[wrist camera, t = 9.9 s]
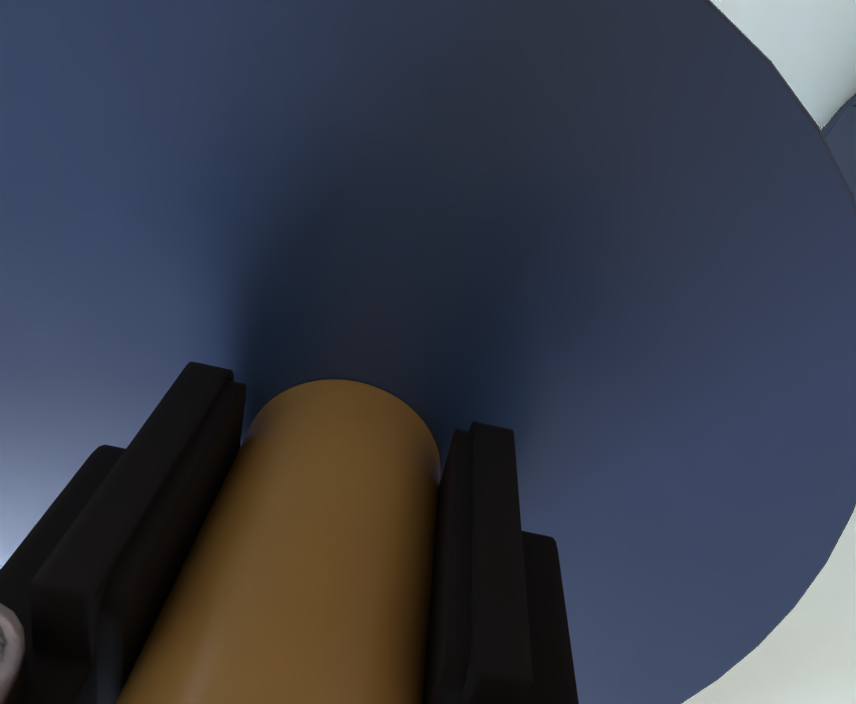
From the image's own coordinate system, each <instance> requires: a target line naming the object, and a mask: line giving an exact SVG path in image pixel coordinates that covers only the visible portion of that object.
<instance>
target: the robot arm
mask: <svg viewBox="0 0 856 704" xmlns="http://www.w3.org/2000/svg"><path fill="white" fill-rule="evenodd" d="M245 400H246V384H244V383H240V382H235V381H234V372H233V371H232V370H230V369H226V368H221V367H216V366H212V365H207V364H202V363H198V362H193V361H192V362H189V363H188V364H187V365H186V366H185V368H184V369H183V370H182V372H181V373H180V375H179V376H178V377H177V379H176V380H175V382H174V383H173V384H172V386H171V387H170V389H169V390H168V391H167V393H166V394H165V395H164V397H163V398H162V400H161V401H160V402H159V404H158V405H157V407H156V408H155V409H154V411H153V412H152V414H151V415H150V416H149V418H148V419H147V420H146V422H145V423H144V425H143V426H142V427H141V429H140V430H139V432H138V433H137V434H136V436H135V437H134V439H133V440H132V441H131V443H130V444H129V445H128V447H127V448H126V449H125V448H120V447H115V446H110V445H105V444H104V445H102V446H99V447H98V448H97V449H96V450H95V451H94V452H93V453H92V454H91V455H90V456H89V457H88V459H87V460H86V461H85V462H84V464H83V465H82V466H81V467H80V469H79V470H78V471H77V473H76V474H75V475H74V476H73V478H72V479H71V480H70V482H69V483H68V484H67V485H66V487H65V488H64V489H63V490H62V492H61V493H60V494H59V496H58V497H57V498H56V499H55V501H54V502H53V503H52V504H51V506H50V507H49V508H48V510H47V511H46V512H45V513H44V515H43V516H42V517H41V519H40V520H39V521H38V522H37V524H36V525H35V526H34V527H33V529H32V530H31V531H30V533H29V534H28V535H27V536H26V538H25V539H24V540H23V541H22V543H21V544H20V545H19V547H18V548H17V549H16V550H15V552H14V553H13V554H12V556H11V557H10V558H9V559H8V561H7V562H6V563H5V564H4V566H3V567H2V568H1V570H0V704H115V703H116V701H117V699H118V697H119V695H120V693H121V691H122V688H123V686H124V684H125V682H126V680H127V678H128V676H129V674H130V672H131V670H132V668H133V666H134V664H135V662H136V660H137V658H138V656H139V654H140V652H141V650H142V647H143V645H144V643H145V641H146V639H147V637H148V635H149V633H150V631H151V629H152V627H153V625H154V623H155V621H156V619H157V617H158V615H159V613H160V611H161V608H162V606H163V604H164V602H165V600H166V598H167V596H168V594H169V592H170V590H171V588H172V586H173V584H174V582H175V580H176V578H177V576H178V574H179V572H180V569H181V567H182V565H183V563H184V561H185V559H186V557H187V555H188V553H189V551H190V549H191V547H192V545H193V543H194V541H195V539H196V537H197V535H198V533H199V531H200V528H201V526H202V524H203V522H204V520H205V518H206V516H207V514H208V512H209V510H210V508H211V506H212V504H213V502H214V500H215V498H216V496H217V494H218V492H219V489H220V487H221V485H222V483H223V481H224V479H225V477H226V475H227V473H228V471H229V469H230V467H231V465H232V463H233V461H234V459H235V457H236V455H237V453H238V451H239V448H240V443H241V434H242V426H243V417H244V409H245ZM423 704H579V701H578V694H577V687H576V679H575V672H574V665H573V657H572V650H571V643H570V635H569V628H568V621H567V613H566V606H565V599H564V591H563V584H562V577H561V569H560V562H559V555H558V549H557V544H556V541H555V540H554V538H553V537H550V536H545V535H540V534H536V533H531V532H526V531H522V529H521V516H520V504H519V491H518V478H517V465H516V452H515V439H514V431H513V430H512V429H507V428H503V427H498V426H493V425H489V424H484V423H479V422H475V421H473V423H472V424H471V427H470V429H469V431H466V430H461V429H455V431H454V434H453V437H452V441H451V444H450V448H449V452H448V455H447V459H446V462H445V466H444V470H443V473H442V477H441V480H440V484H439V488H438V501H437V515H436V528H435V542H434V556H433V569H432V583H431V596H430V610H429V623H428V637H427V651H426V664H425V678H424V691H423Z"/></svg>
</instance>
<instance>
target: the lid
mask: <svg viewBox="0 0 856 704" xmlns="http://www.w3.org/2000/svg"><path fill="white" fill-rule="evenodd" d="M192 361H193V362H198V363H202V364H207V365H212V366H216V367H221V368H226V369H230V370H232V371H233V372H234V381H235V382H240V383H244V384H246V400H245V409H244V417H243V426H242V434H241V443H240V448H239V451H238V453H237V455H236V457H235V459H234V461H233V463H232V465H231V467H230V469H229V471H228V473H227V475H226V477H225V479H224V481H223V483H222V485H221V487H220V489H219V492H218V494H217V496H216V498H215V500H214V502H213V504H212V506H211V508H210V510H209V512H208V514H207V516H206V518H205V520H204V522H203V524H202V526H201V528H200V531H199V533H198V535H197V537H196V539H195V541H194V543H193V545H192V547H191V549H190V551H189V553H188V555H187V557H186V559H185V561H184V563H183V565H182V567H181V569H180V572H179V574H178V576H177V578H176V580H175V582H174V584H173V586H172V588H171V590H170V592H169V594H168V596H167V598H166V600H165V602H164V604H163V606H162V608H161V611H160V613H159V615H158V617H157V619H156V621H155V623H154V625H153V627H152V629H151V631H150V633H149V635H148V637H147V639H146V641H145V643H144V645H143V647H142V650H141V652H140V654H139V656H138V658H137V660H136V662H135V664H134V666H133V668H132V670H131V672H130V674H129V676H128V678H127V680H126V682H125V684H124V686H123V688H122V691H121V693H120V695H119V697H118V699H117V701H116V703H115V704H423V691H424V678H425V664H426V651H427V637H428V623H429V610H430V596H431V583H432V569H433V556H434V542H435V528H436V515H437V501H438V488H439V484H440V480H441V477H442V473H443V470H444V466H445V462H446V459H447V455H448V452H449V448H450V444H451V441H452V437H453V434H454V431H455V429H461V430H466V431H469V429H470V427H471V424H472V423H473V421H475V422H479V423H484V424H489V425H493V426H498V427H503V428H507V429H512V430H513V431H514V439H515V452H516V465H517V478H518V491H519V504H520V516H521V529H522V531H526V532H531V533H536V534H540V535H545V536H550V537H553V538H554V540H555V541H556V544H557V549H558V555H559V562H560V569H561V577H562V584H563V591H564V599H565V606H566V613H567V621H568V628H569V635H570V643H571V650H572V657H573V665H574V672H575V679H576V687H577V694H578V701H579V704H681V703H683V702H684V701H686V700H687V699H689V698H691V697H692V696H694V695H695V694H697V693H698V692H700V691H701V690H703V689H704V688H706V687H707V686H709V685H710V684H712V683H713V682H715V681H716V680H718V679H719V678H720V677H721V676H723V675H724V674H725V673H726V672H727V671H729V670H730V669H731V668H732V667H733V666H735V665H736V664H737V663H738V662H739V661H741V660H742V659H743V658H744V657H745V656H747V655H748V654H749V653H750V652H751V651H753V650H754V649H755V648H756V647H757V646H758V645H759V644H760V643H761V642H762V641H763V640H764V639H765V638H766V637H767V636H768V635H769V634H770V633H771V632H772V630H773V629H774V628H775V627H776V626H777V625H778V624H779V623H780V622H781V621H782V620H783V619H784V618H785V617H786V616H787V615H788V613H789V612H790V611H791V610H792V609H793V608H794V607H795V606H796V604H797V603H798V601H799V600H800V599H801V597H802V596H803V595H804V593H805V592H806V590H807V589H808V588H809V586H810V585H811V583H812V582H813V581H814V579H815V578H816V576H817V575H818V574H819V572H820V571H821V570H822V568H823V567H824V565H825V564H826V563H827V561H828V559H829V557H830V555H831V553H832V551H833V549H834V547H835V545H836V544H837V542H838V540H839V538H840V536H841V534H842V532H843V530H844V528H845V526H846V525H847V523H848V521H849V519H850V517H851V515H852V513H853V510H854V508H855V505H856V202H855V199H854V196H853V194H852V192H851V190H850V188H849V186H848V184H847V182H846V180H845V178H844V176H843V174H842V172H841V170H840V168H839V166H838V164H837V162H836V160H835V158H834V156H833V154H832V152H831V150H830V148H829V146H828V144H827V142H826V140H825V138H824V136H823V134H822V132H821V130H820V128H819V126H818V125H817V124H816V122H815V121H814V120H813V118H812V117H811V115H810V114H809V113H808V111H807V110H806V109H805V107H804V106H803V104H802V103H801V102H800V100H799V99H798V98H797V96H796V95H795V93H794V92H793V91H792V89H791V88H790V87H789V85H788V84H787V82H786V81H785V80H784V78H783V77H782V76H781V74H780V73H779V71H778V70H777V69H776V67H775V66H774V65H773V63H772V62H771V61H770V60H769V59H768V58H767V57H766V56H765V55H764V54H763V53H762V52H761V51H760V50H759V49H758V48H757V47H756V46H755V45H754V44H753V43H752V42H751V41H750V40H749V39H748V38H747V37H746V36H745V35H744V34H743V33H742V32H741V31H740V30H739V29H738V28H737V27H736V26H735V25H734V24H733V23H732V22H731V21H730V20H729V19H728V18H727V17H726V16H725V15H724V14H723V13H722V12H721V11H720V10H719V9H718V8H717V7H716V6H715V5H714V4H713V3H712V2H711V1H710V0H0V570H1V568H2V567H3V566H4V564H5V563H6V562H7V561H8V559H9V558H10V557H11V556H12V554H13V553H14V552H15V550H16V549H17V548H18V547H19V545H20V544H21V543H22V541H23V540H24V539H25V538H26V536H27V535H28V534H29V533H30V531H31V530H32V529H33V527H34V526H35V525H36V524H37V522H38V521H39V520H40V519H41V517H42V516H43V515H44V513H45V512H46V511H47V510H48V508H49V507H50V506H51V504H52V503H53V502H54V501H55V499H56V498H57V497H58V496H59V494H60V493H61V492H62V490H63V489H64V488H65V487H66V485H67V484H68V483H69V482H70V480H71V479H72V478H73V476H74V475H75V474H76V473H77V471H78V470H79V469H80V467H81V466H82V465H83V464H84V462H85V461H86V460H87V459H88V457H89V456H90V455H91V454H92V453H93V452H94V451H95V450H96V449H97V448H98V447H99V446H102V445H104V444H105V445H110V446H115V447H120V448H125V449H126V448H127V447H128V445H129V444H130V443H131V441H132V440H133V439H134V437H135V436H136V434H137V433H138V432H139V430H140V429H141V427H142V426H143V425H144V423H145V422H146V420H147V419H148V418H149V416H150V415H151V414H152V412H153V411H154V409H155V408H156V407H157V405H158V404H159V402H160V401H161V400H162V398H163V397H164V395H165V394H166V393H167V391H168V390H169V389H170V387H171V386H172V384H173V383H174V382H175V380H176V379H177V377H178V376H179V375H180V373H181V372H182V370H183V369H184V368H185V366H186V365H187V364H188V363H189V362H192Z"/></svg>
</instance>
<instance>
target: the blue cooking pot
mask: <svg viewBox="0 0 856 704" xmlns="http://www.w3.org/2000/svg"><path fill="white" fill-rule="evenodd" d="M821 132H822V134H823V136H824V138H825V140H826V142H827V144H828V146H829V148H830V150H831V152H832V154H833V156H834V158H835V160H836V162H837V164H838V166H839V168H840V170H841V172H842V174H843V176H844V178H845V180H846V182H847V184H848V186H849V188H850V190H851V192H852V194H853V196H854V199H855V202H856V95H855V96H854V97H853V98H851V99H850V100H849V101H848V102H847V103H846V104H845V105H844V106H843V107H842V108H841V109H840V110H839V111H838V112H837V113H836V114H835V116H834V117H833V118H832V119H831V120H830V122H829V123H828V124H827V125H826V126H825V128H824V129H823V130H822V131H821Z"/></svg>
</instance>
